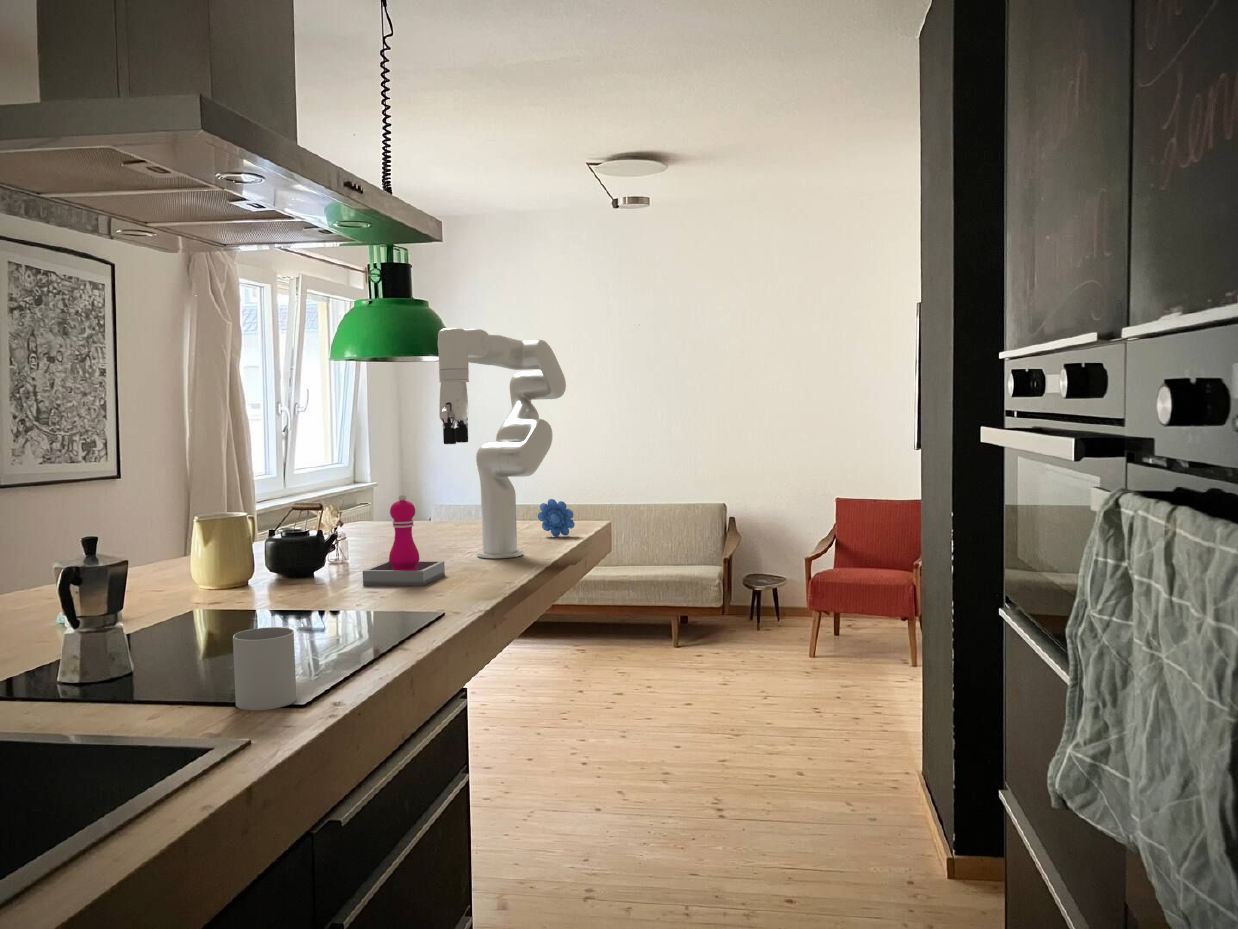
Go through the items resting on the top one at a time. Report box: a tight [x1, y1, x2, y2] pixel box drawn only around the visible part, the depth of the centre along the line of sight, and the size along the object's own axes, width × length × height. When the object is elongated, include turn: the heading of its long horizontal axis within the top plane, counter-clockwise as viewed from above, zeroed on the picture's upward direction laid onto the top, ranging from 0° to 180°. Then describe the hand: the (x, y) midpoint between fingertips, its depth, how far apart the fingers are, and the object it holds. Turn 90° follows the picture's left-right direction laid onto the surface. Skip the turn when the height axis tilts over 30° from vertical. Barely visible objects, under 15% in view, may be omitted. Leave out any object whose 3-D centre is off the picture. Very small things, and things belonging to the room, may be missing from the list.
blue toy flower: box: [537, 498, 575, 537], centre depth 324 cm, size 12×7×12 cm, turn 86°
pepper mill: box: [388, 493, 420, 571], centre depth 250 cm, size 7×7×20 cm
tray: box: [362, 560, 446, 587], centre depth 251 cm, size 15×15×4 cm
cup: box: [232, 626, 297, 711], centre depth 150 cm, size 8×8×10 cm
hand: (456, 443), depth 267 cm, fingers open, 9 cm apart
